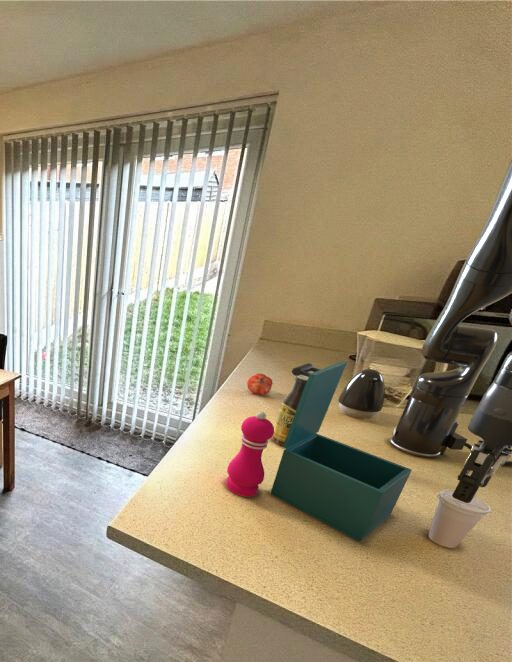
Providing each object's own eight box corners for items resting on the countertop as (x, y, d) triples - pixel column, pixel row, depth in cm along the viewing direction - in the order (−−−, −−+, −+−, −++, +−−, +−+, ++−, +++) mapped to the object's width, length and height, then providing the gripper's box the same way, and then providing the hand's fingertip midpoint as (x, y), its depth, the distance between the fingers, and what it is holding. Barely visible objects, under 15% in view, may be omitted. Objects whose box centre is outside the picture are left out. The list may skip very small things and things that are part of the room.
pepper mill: (255, 481, 93) (276, 406, 85) (262, 501, 87) (287, 422, 79) (221, 476, 95) (239, 402, 87) (226, 494, 89) (246, 417, 81)
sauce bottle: (264, 437, 111) (283, 372, 103) (285, 435, 111) (305, 371, 104) (281, 449, 105) (303, 381, 97) (303, 448, 105) (326, 380, 98)
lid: (347, 362, 82) (317, 353, 87) (314, 375, 76) (283, 365, 80) (318, 432, 90) (292, 421, 94) (286, 449, 84) (259, 436, 88)
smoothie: (477, 555, 72) (515, 494, 66) (435, 550, 73) (469, 490, 68) (448, 530, 78) (480, 472, 72) (410, 526, 79) (439, 468, 73)
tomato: (242, 393, 143) (243, 385, 135) (251, 375, 143) (252, 366, 135) (265, 401, 139) (268, 393, 130) (274, 382, 139) (277, 373, 131)
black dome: (341, 419, 119) (358, 373, 113) (329, 405, 128) (344, 362, 122) (383, 425, 115) (403, 378, 109) (368, 410, 124) (386, 365, 118)
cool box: (389, 516, 81) (412, 469, 77) (360, 542, 75) (382, 492, 71) (301, 475, 95) (315, 433, 90) (270, 494, 89) (283, 449, 84)
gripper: (538, 433, 58) (487, 518, 64) (560, 411, 65) (511, 490, 71) (465, 413, 64) (425, 493, 71) (491, 394, 71) (452, 469, 77)
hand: (468, 491), depth 71 cm, fingers open, 8 cm apart
